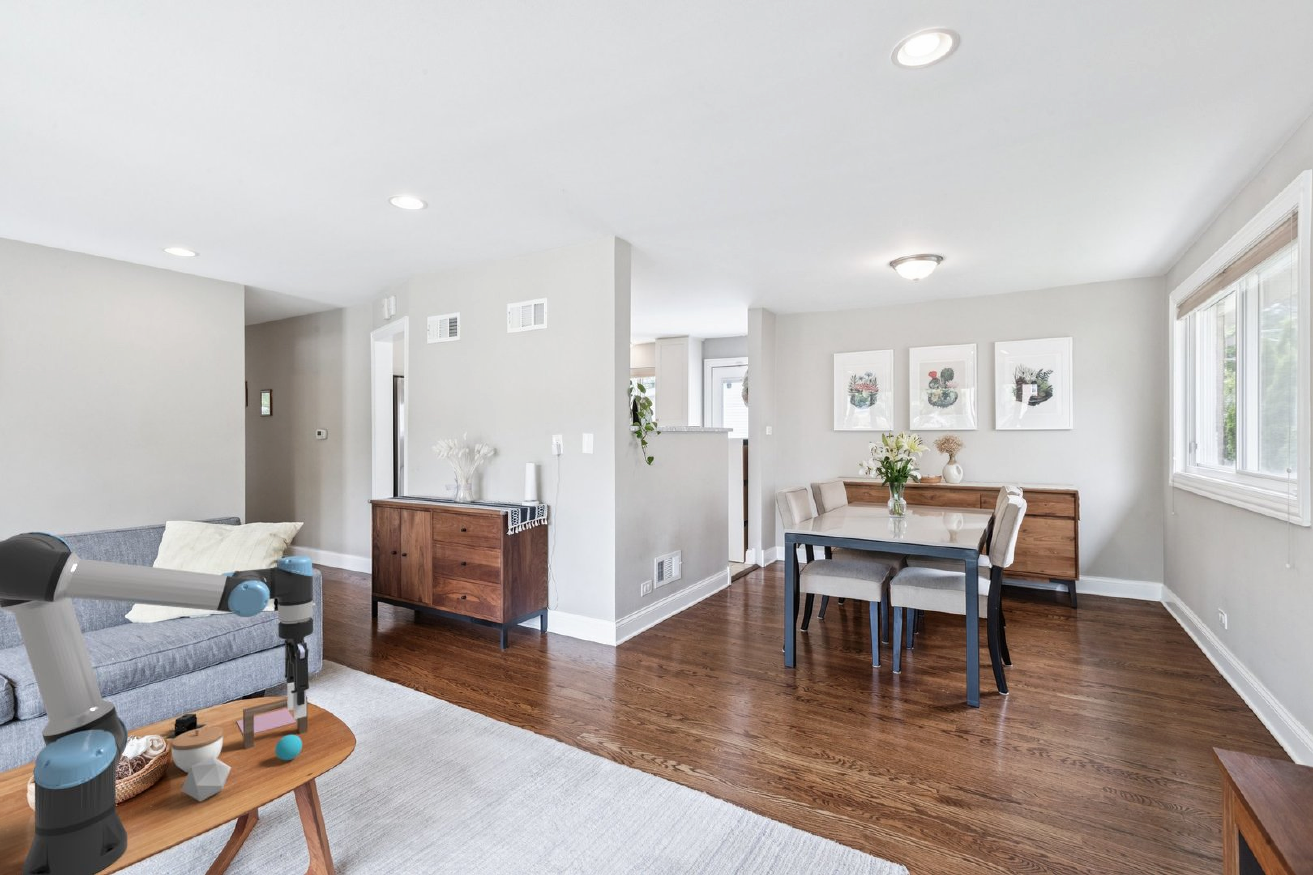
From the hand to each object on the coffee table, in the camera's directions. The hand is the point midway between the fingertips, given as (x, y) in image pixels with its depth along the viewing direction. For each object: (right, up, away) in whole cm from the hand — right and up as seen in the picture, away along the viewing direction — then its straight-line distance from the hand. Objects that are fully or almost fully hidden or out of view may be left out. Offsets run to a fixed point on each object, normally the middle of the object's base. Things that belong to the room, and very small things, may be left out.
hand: (296, 712), depth 156 cm
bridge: (-17, -15, +19) cm, 30 cm away
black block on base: (-46, -17, +24) cm, 54 cm away
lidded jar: (-27, -16, +4) cm, 32 cm away
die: (-16, -15, -9) cm, 24 cm away
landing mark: (-26, -16, +29) cm, 42 cm away
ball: (-6, -12, +7) cm, 15 cm away
